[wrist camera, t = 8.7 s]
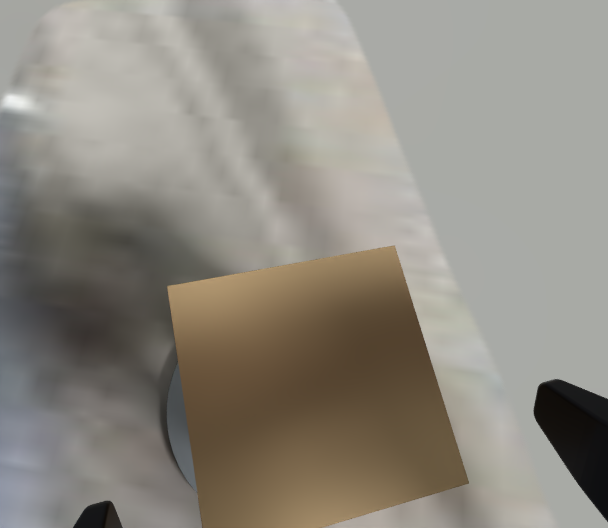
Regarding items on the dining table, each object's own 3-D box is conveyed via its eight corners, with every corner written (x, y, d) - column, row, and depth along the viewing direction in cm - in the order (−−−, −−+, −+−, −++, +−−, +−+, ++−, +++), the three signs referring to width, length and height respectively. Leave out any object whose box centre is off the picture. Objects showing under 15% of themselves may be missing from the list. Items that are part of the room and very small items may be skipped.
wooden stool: (358, 455, 20) (469, 483, 10) (224, 492, 19) (207, 562, 9) (326, 325, 22) (394, 245, 12) (201, 351, 21) (166, 286, 11)
